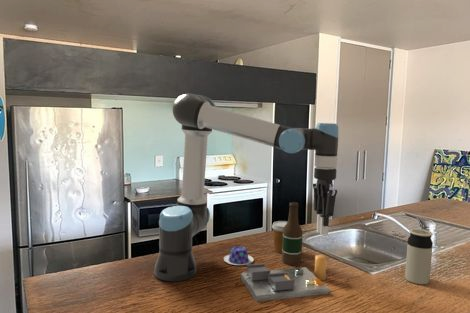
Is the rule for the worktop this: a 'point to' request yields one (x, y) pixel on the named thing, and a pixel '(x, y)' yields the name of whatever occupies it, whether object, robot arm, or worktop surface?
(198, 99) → the robot arm
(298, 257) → the beer bottle
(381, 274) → the worktop surface
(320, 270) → the cap
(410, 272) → the travel mug
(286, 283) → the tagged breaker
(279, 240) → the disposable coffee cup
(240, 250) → the pudding
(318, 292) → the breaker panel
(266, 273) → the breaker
